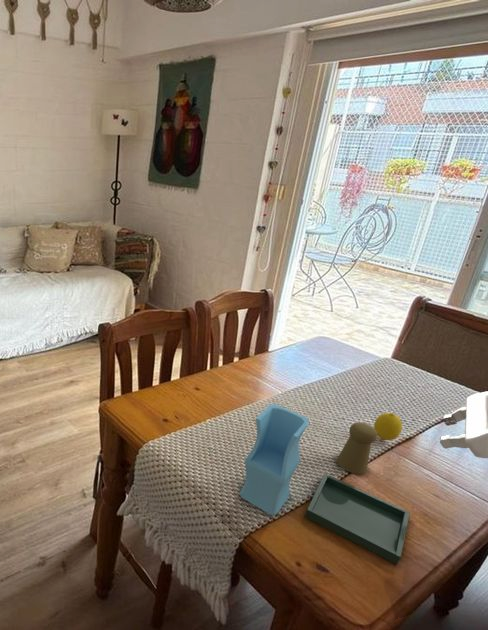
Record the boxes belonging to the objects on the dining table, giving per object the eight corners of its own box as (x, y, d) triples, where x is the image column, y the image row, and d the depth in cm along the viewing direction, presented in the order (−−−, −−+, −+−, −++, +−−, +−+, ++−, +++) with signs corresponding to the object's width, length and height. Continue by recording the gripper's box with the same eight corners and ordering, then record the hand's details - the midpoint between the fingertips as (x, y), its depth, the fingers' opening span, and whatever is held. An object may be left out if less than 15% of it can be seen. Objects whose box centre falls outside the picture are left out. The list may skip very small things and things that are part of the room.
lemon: (365, 435, 113) (374, 409, 110) (380, 430, 115) (389, 405, 112) (385, 449, 108) (396, 422, 105) (401, 444, 110) (411, 418, 107)
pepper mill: (330, 458, 105) (343, 420, 100) (350, 453, 106) (363, 416, 102) (352, 476, 99) (367, 437, 95) (372, 471, 101) (387, 432, 97)
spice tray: (406, 519, 89) (410, 512, 88) (397, 565, 79) (400, 557, 78) (322, 480, 98) (324, 473, 97) (304, 516, 89) (307, 509, 88)
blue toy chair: (237, 495, 93) (255, 418, 85) (253, 476, 98) (271, 402, 91) (274, 517, 88) (297, 437, 80) (289, 496, 93) (312, 419, 85)
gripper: (516, 374, 87) (436, 396, 96) (523, 421, 72) (429, 442, 82) (537, 402, 86) (454, 421, 96) (549, 455, 72) (450, 472, 81)
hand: (442, 431), depth 89 cm, fingers open, 8 cm apart
